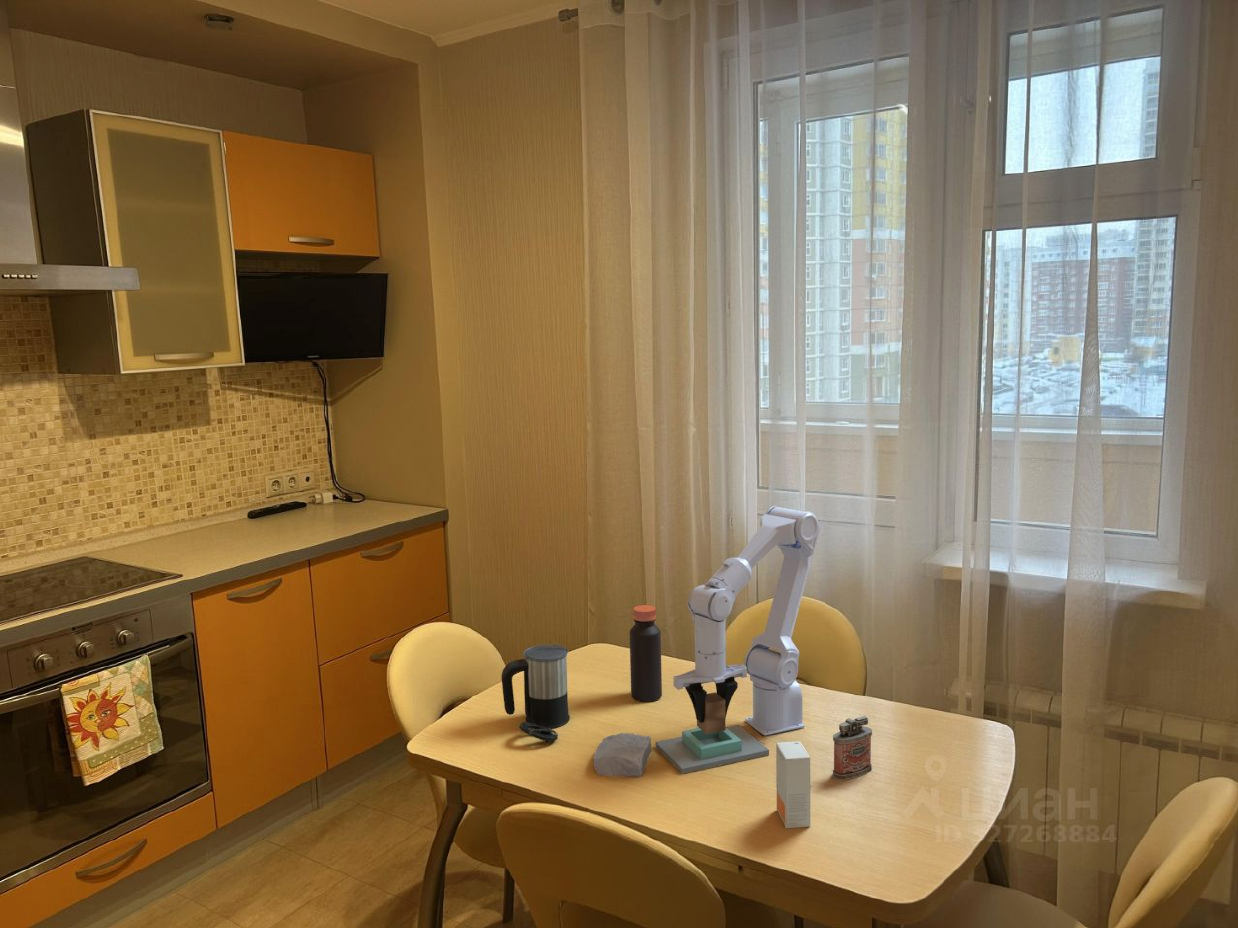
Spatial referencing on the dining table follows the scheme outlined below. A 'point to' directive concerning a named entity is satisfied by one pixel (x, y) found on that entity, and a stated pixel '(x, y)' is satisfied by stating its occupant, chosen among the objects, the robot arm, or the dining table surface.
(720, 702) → the tall brown post
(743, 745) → the assembly cradle
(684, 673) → the robot arm
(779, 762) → the skincare box
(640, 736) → the stone block
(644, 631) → the bottle
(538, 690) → the milk frother
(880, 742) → the dining table surface
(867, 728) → the lighter
